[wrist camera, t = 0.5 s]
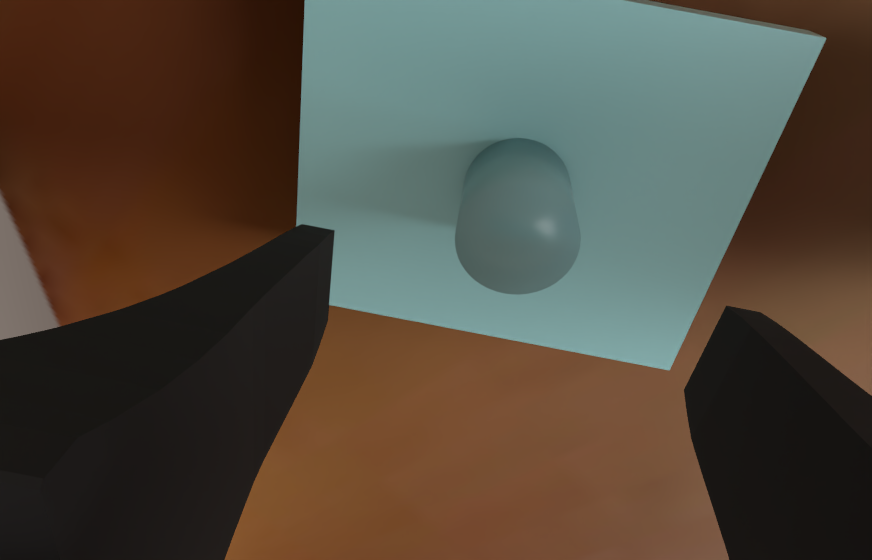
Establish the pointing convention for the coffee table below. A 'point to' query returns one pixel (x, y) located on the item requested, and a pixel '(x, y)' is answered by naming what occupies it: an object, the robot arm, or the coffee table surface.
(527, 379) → the coffee table surface
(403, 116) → the lid
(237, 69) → the coffee table surface
